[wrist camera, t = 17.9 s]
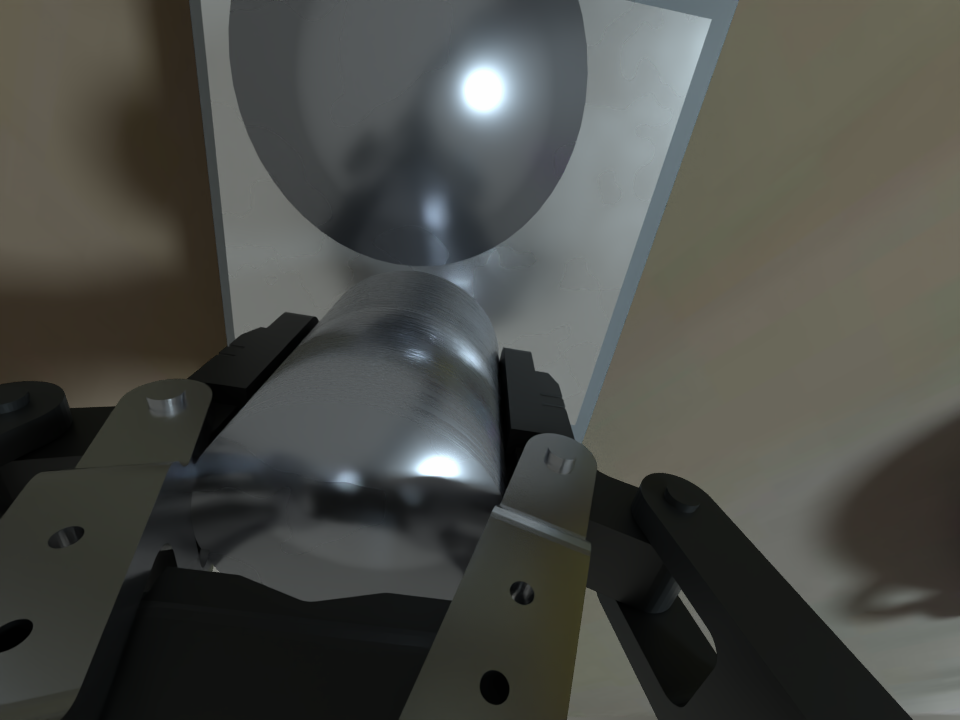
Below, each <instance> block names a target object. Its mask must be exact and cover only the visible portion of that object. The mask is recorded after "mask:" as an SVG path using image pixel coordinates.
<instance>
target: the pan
mask: <svg viewBox="0 0 960 720" xmlns="http://www.w3.org/2000/svg"><path fill="white" fill-rule="evenodd" d="M578 1H579V4H580V8H581V12H582V16H583V22H584V29H585V36H586V43H587V65H588V77H587V90H586V102H585V107H584V112H583V118H582V123H581V128H580V131H579V134H578V137H577V141H576V144H575V147H574V150H573V153H572V155H571V157H570V160H569V162H568V164H567V166H566V169H565V171H564V173H563V175H562V177H561V178H560V180H559V182H558V184H557V185H556V187H555V189H554V190H553V192H552V194H551V195H550V196H549V198H548V199H547V200H546V202H545V203H544V204H543V206H542V207H541V208H540V210H539V211H538V212H537V213H536V214H535V215H534V216H533V217H532V218H531V219H530V220H529V221H528V222H527V223H526V224H525V225H524V226H523V227H522V228H521V229H519V230H518V231H517V232H516V233H514V234H513V235H512V236H511V237H509V238H508V239H507V240H505V241H503V242H502V243H500V244H499V245H497V246H495V247H494V248H492V249H490V250H488V251H486V252H484V253H481V254H479V255H477V256H475V257H472V258H469V259H465V260H462V261H459V262H455V263H450V264H444V265H437V266H407V265H398V264H393V263H388V262H384V261H380V260H376V259H373V258H371V257H368V256H365V255H362V254H360V253H357V252H355V251H353V250H351V249H349V248H347V247H345V246H343V245H342V244H340V243H338V242H336V241H335V240H333V239H332V238H330V237H329V236H327V235H326V234H324V233H323V232H321V231H320V230H319V229H318V228H317V227H315V226H314V225H313V224H312V223H311V222H309V221H308V220H307V219H306V218H305V217H304V216H303V215H302V214H301V213H300V212H299V211H298V210H297V209H296V208H295V207H294V206H293V205H292V204H291V203H290V202H289V201H288V200H287V198H286V197H285V196H284V195H283V193H282V192H281V191H280V189H279V188H278V187H277V185H276V184H275V183H274V182H273V180H272V178H271V177H270V175H269V174H268V172H267V170H266V169H265V167H264V166H263V164H262V162H261V161H260V159H259V157H258V155H257V153H256V151H255V149H254V146H253V144H252V142H251V140H250V138H249V136H248V133H247V130H246V128H245V125H244V122H243V119H242V117H241V114H240V111H239V107H238V103H237V99H236V95H235V91H234V87H233V81H232V74H231V67H230V59H229V32H228V27H229V15H230V4H231V0H201V10H202V20H203V30H204V39H205V49H206V59H207V69H208V79H209V89H210V99H211V108H212V118H213V128H214V138H215V148H216V158H217V168H218V177H219V187H220V197H221V207H222V217H223V227H224V237H225V246H226V256H227V266H228V276H229V286H230V296H231V306H232V315H233V325H234V335H235V339H236V338H238V337H239V336H240V335H241V334H244V333H246V332H249V331H251V330H254V329H257V328H259V327H264V328H267V327H268V326H269V325H271V324H272V323H273V322H274V321H275V320H276V319H277V318H279V317H280V316H281V315H282V314H283V313H284V312H290V313H296V314H303V315H309V316H315V317H317V318H318V320H319V321H320V320H321V319H322V318H323V317H324V316H325V314H326V313H327V312H328V311H329V310H330V309H331V308H332V307H333V305H334V304H335V303H336V302H337V301H338V300H339V299H340V298H341V296H342V295H343V294H344V293H345V292H347V291H348V290H349V289H350V288H351V287H353V286H354V285H356V284H357V283H359V282H360V281H362V280H364V279H367V278H369V277H371V276H374V275H377V274H381V273H384V272H391V271H407V270H409V271H418V272H424V273H428V274H432V275H435V276H438V277H441V278H443V279H446V280H448V281H450V282H452V283H453V284H455V285H457V286H458V287H460V288H461V289H463V290H464V291H466V292H467V293H468V294H469V295H470V296H471V297H473V298H474V299H475V300H476V301H477V303H478V304H479V305H480V306H481V307H482V308H483V310H484V311H485V313H486V314H487V316H488V318H489V319H490V321H491V323H492V326H493V328H494V331H495V334H496V337H497V342H498V348H499V360H500V356H501V352H502V349H503V347H505V348H511V349H517V350H523V351H530V352H531V353H532V358H533V363H534V367H535V371H540V372H546V373H549V374H550V375H551V376H552V378H553V379H554V380H555V381H556V382H557V383H558V384H559V387H560V390H561V393H562V399H563V400H564V404H565V409H566V411H567V414H568V418H569V421H570V424H571V425H575V424H576V421H577V418H578V415H579V412H580V409H581V406H582V403H583V400H584V397H585V394H586V391H587V388H588V385H589V382H590V379H591V376H592V373H593V370H594V367H595V364H596V361H597V359H598V356H599V353H600V350H601V347H602V344H603V341H604V338H605V335H606V332H607V329H608V326H609V323H610V320H611V317H612V314H613V311H614V308H615V305H616V302H617V299H618V296H619V293H620V290H621V287H622V284H623V281H624V278H625V275H626V273H627V270H628V267H629V264H630V261H631V258H632V255H633V252H634V249H635V246H636V243H637V240H638V237H639V234H640V231H641V228H642V225H643V222H644V219H645V216H646V213H647V210H648V207H649V204H650V201H651V198H652V195H653V192H654V189H655V187H656V184H657V181H658V178H659V175H660V172H661V169H662V166H663V163H664V160H665V157H666V154H667V151H668V148H669V145H670V142H671V139H672V136H673V133H674V130H675V127H676V124H677V121H678V118H679V115H680V112H681V109H682V106H683V104H684V101H685V98H686V95H687V92H688V89H689V86H690V83H691V80H692V77H693V74H694V71H695V68H696V65H697V62H698V59H699V56H700V53H701V50H702V47H703V44H704V41H705V38H706V35H707V32H708V29H709V26H710V23H711V20H712V19H708V18H703V17H699V16H694V15H690V14H685V13H681V12H676V11H672V10H667V9H663V8H658V7H654V6H649V5H645V4H640V3H636V2H631V1H627V0H578Z"/></svg>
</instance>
